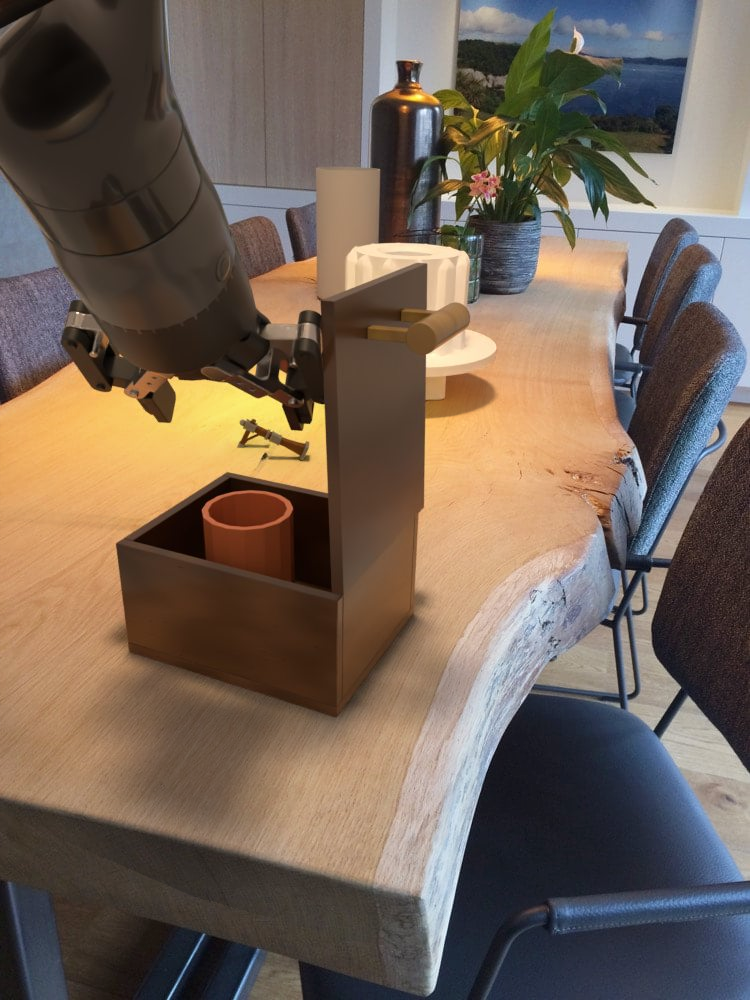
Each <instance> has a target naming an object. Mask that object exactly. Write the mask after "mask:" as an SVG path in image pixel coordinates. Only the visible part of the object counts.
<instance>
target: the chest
mask: <svg viewBox="0 0 750 1000" xmlns="http://www.w3.org/2000/svg"><path fill="white" fill-rule="evenodd" d="M248 490H253V491H266V492H271V493H274V494H278V495H281V496H283V497H284V498H286V499H287V500H289V501H290V503H291V505H292V507H293V525H294V575H295V583H292V582H288V581H284V580H281V579H277V578H273V577H269V576H265V575H261V574H257V573H254V572H250V571H246V570H242V569H238V568H234V567H230V566H227V565H223V564H219V563H215V562H211V561H207V560H205V549H204V535H203V521H202V509H203V507H204V506H205V504H206V503H207V502H208V501H210V500H212V499H214V498H215V497H217V496H220V495H224V494H227V493H231V492H237V491H248ZM419 514H420V512H419V513H418V515H417V516H416V517H415V518H414V519H413V520H412V521H411V522H410V523H409V524H408V526H407V527H406V528H405V529H404V530H403V531H402V532H401V533H400V534H399V535H398V536H397V538H396V539H395V540H394V541H393V542H392V543H391V544H390V545H389V546H388V547H387V549H386V550H385V551H384V552H383V553H382V554H381V555H380V556H379V557H378V558H377V559H376V561H375V562H374V563H373V564H372V565H371V566H370V567H369V568H368V569H367V570H366V572H365V573H364V574H363V575H362V576H361V577H360V578H359V579H358V580H357V581H356V582H355V584H354V585H353V586H352V587H351V588H350V589H349V590H348V591H347V592H346V593H345V595H344V596H341V595H337V594H333V593H332V585H331V559H330V533H329V507H328V492H324V491H320V490H314V489H309V488H306V487H302V486H301V487H300V486H297V485H291V484H286V483H281V482H277V481H272V480H267V479H262V478H257V477H253V476H249V475H244V474H239V473H234V472H229V471H226V472H225V473H223V474H222V475H220V476H218V477H217V478H215V479H213V480H212V481H211V482H209V483H207V484H206V485H205V486H203V487H201V488H200V489H198V490H196V491H195V492H193V493H192V494H191V495H189V496H187V497H186V498H184V499H183V500H181V501H179V502H178V503H176V504H174V505H173V506H172V507H170V508H168V509H167V510H164V512H162V513H160V514H159V515H157V516H156V517H154V518H153V519H152V520H149V521H148V522H147V523H145V524H144V525H142V526H141V527H139V528H137V529H136V530H134V531H132V532H131V533H130V534H128V535H126V536H125V537H123V538H122V539H120V540H119V541H117V542H116V543H115V548H116V556H117V565H118V575H119V579H120V580H119V581H120V588H121V598H122V607H123V614H124V623H125V630H126V637H127V646H128V651H129V652H131V653H133V654H137V655H139V656H143V657H146V658H149V659H152V660H155V661H159V662H161V663H165V664H167V665H171V666H174V667H177V668H181V669H183V670H187V671H190V672H193V673H196V674H199V675H202V676H205V677H209V678H211V679H215V680H218V681H220V682H221V681H222V682H225V683H227V684H231V685H234V686H237V687H241V688H244V689H247V690H250V691H252V692H256V693H258V694H262V695H266V696H269V697H271V698H275V699H279V700H281V701H284V702H287V703H289V704H293V705H297V706H300V707H302V708H307V709H309V710H312V711H315V712H319V713H322V714H325V715H328V716H331V717H334V718H337V717H338V716H339V714H340V713H342V711H343V710H344V708H345V707H346V706H347V704H348V702H349V701H350V700H351V698H352V697H353V696H354V694H355V693H356V692H357V690H358V689H359V688H360V686H361V685H362V684H363V683H364V681H365V679H366V678H367V677H368V676H369V674H370V673H371V672H372V670H373V669H374V667H375V666H376V664H377V663H378V662H379V661H380V660H381V658H382V656H383V655H384V654H385V652H386V651H387V650H388V648H389V647H390V646H391V644H392V643H393V642H394V641H395V639H396V638H397V636H398V635H399V634H400V632H401V631H402V629H403V628H404V627H405V626H406V624H407V623H408V621H409V620H410V619H411V617H412V616H413V615H414V610H415V594H416V593H415V591H416V574H417V573H416V571H417V554H418V536H419V535H418V534H419V533H418V531H419V517H420V516H419Z"/></svg>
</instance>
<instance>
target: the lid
mask: <svg viewBox="0 0 750 1000" xmlns="http://www.w3.org/2000/svg"><path fill="white" fill-rule="evenodd" d="M320 315H321V325H322V351H323V377H324V403H325V404H324V425H325V426H324V427H325V451H326V478H327V493H328V507H329V533H330V559H331V585H332V593H333V594H337V595H341V596H344V595H345V593H346V592H347V591H348V590H349V589H350V588H351V587H352V586H353V585H354V584H355V582H356V581H357V580H358V579H359V578H360V577H361V576H362V575H363V574H364V573H365V572H366V570H367V569H368V568H369V567H370V566H371V565H372V564H373V563H374V562H375V561H376V559H377V558H378V557H379V556H380V555H381V554H382V553H383V552H384V551H385V550H386V549H387V547H388V546H389V545H390V544H391V543H392V542H393V541H394V540H395V539H396V538H397V536H398V535H399V534H400V533H401V532H402V531H403V530H404V529H405V528H406V527H407V526H408V524H409V523H410V522H411V521H412V520H413V519H414V518H415V517H416V516H417V515H418V513H419V514H420V513H421V512H422V510H423V509H424V508H425V473H426V472H425V467H426V466H425V465H426V463H425V461H426V401H427V400H426V355H427V354H429V353H431V352H432V351H434V350H435V349H437V348H438V347H440V346H441V345H443V344H444V343H446V342H447V341H449V340H450V339H452V338H453V337H455V336H456V335H458V334H459V333H461V332H462V331H464V330H465V329H467V328H468V327H469V325H470V323H471V314H470V311H469V309H468V307H467V308H466V307H465V306H464V305H463V304H461V303H456V302H454V303H450V304H448V305H447V306H445V307H443V308H441V309H439V310H438V311H432V310H427V263H415V264H412V265H410V266H407V267H405V268H402V269H400V270H397V271H394V272H392V273H389V274H387V275H384V276H382V277H379V278H377V279H374V280H372V281H369V282H366V283H364V284H361V285H359V286H356V287H354V288H351V289H349V290H346V291H344V292H341V293H339V294H336V295H333V296H331V297H328V298H326V299H323V300H322V299H320Z"/></svg>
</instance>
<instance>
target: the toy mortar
mask: <svg viewBox="0 0 750 1000" xmlns="http://www.w3.org/2000/svg"><path fill="white" fill-rule="evenodd" d="M239 425H240V426H242V429H243V430H245V431H244V432H243V435H242V437H241V439H240V440H239V441H238V443H237V447H236V448H237V449H244V448H245V445H246V444H247V443H248V442H249V441H251V440H253V439H255V438H257V437H262V438H264V440H265V441H267V440H268V442H269V443H273V444H275V445H277V446H282V447H284V448H285V449H287V450H289V451H291V452H293V453H294V454H297V455H298V457H299V460H301V461H302V462H303V461H304V459H305V457H306V455H307V453H308V451H309V449H310V441H307V440H306V441H305V442H299V441H296V440H294V439H293V440H292V439H289V438H286V437H284V436H283V435H282V434H279V433H278V432H275V431H274V430H272V431H271V429H270V428H264V427H262V426H260V425H259V424H258V422H257V419H255V418H252V419H251V420H250V419H249V418H246V419H240V420H239ZM251 433H252V434H254V435H251V436H250V434H251ZM246 447H247V448H248V447H249V446H246ZM261 458H263V459H266V458H268V453H267V452H264V453H263V454H262V456H261Z"/></svg>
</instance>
